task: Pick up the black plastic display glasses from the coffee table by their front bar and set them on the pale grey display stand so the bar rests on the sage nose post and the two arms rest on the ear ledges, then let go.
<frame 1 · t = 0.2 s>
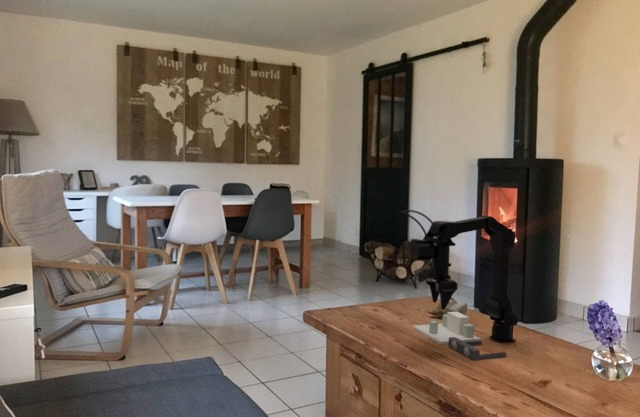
hand: (438, 305, 181), 14 cm above the table, fingers open, 9 cm apart
glasses: (463, 352, 176), on the table
ceramic sculpture: (448, 318, 219), on the table
display stand: (445, 334, 196), on the table
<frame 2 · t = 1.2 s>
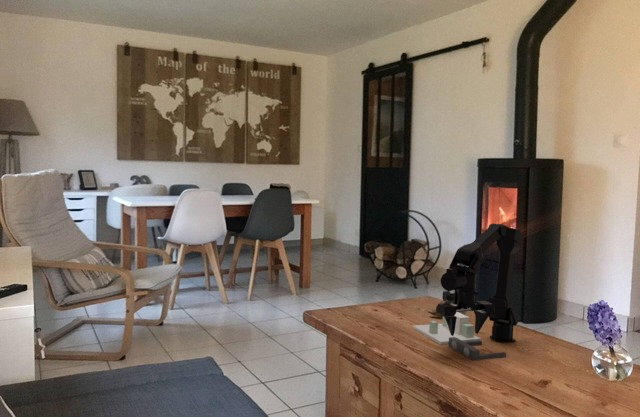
hand: (464, 334, 176), 6 cm above the table, fingers open, 9 cm apart
nothing on the table moved.
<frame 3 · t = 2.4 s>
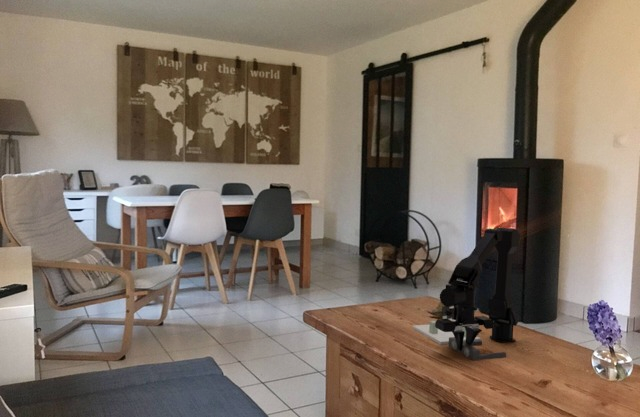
hand: (463, 349, 176), 1 cm above the table, fingers closed on glasses, 2 cm apart
glasses: (463, 352, 176), on the table, touching gripper
everything else where it was.
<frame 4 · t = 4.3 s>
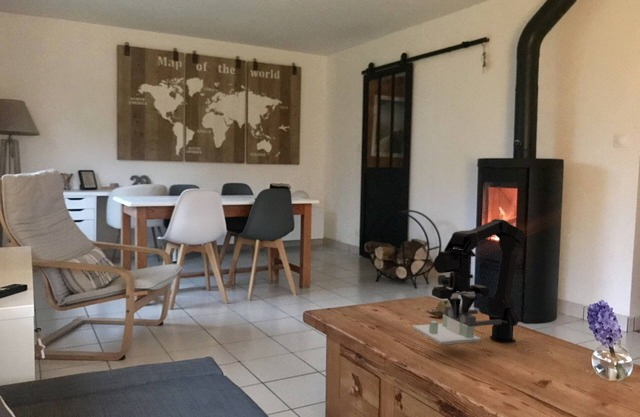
hand: (459, 317, 178), 11 cm above the table, fingers closed on glasses, 2 cm apart
glasses: (459, 320, 178), point 10 cm above the table, touching gripper
everything else where it was.
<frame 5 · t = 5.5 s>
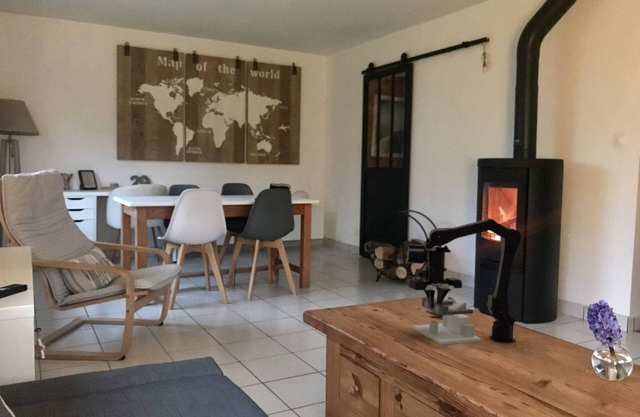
hand: (434, 307, 193), 10 cm above the table, fingers closed on glasses, 2 cm apart
glasses: (434, 310, 193), point 9 cm above the table, touching gripper
everything else where it was.
when the fingers open (7 cm above the table, at t = 6.3 s): glasses stays where it is, resting on display stand.
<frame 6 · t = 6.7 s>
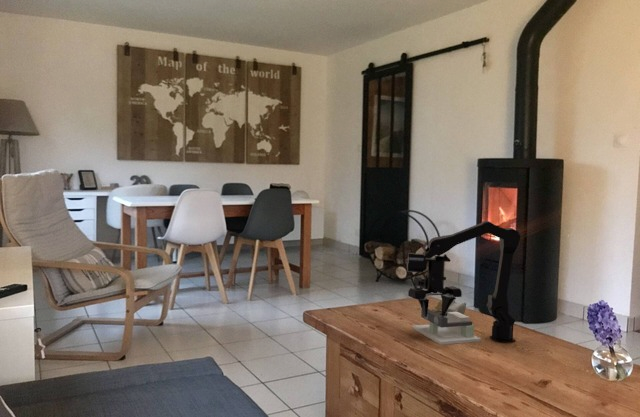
hand: (434, 316, 194), 7 cm above the table, fingers open, 7 cm apart
glasses: (433, 321, 194), point 5 cm above the table, touching display stand
everything else where it was.
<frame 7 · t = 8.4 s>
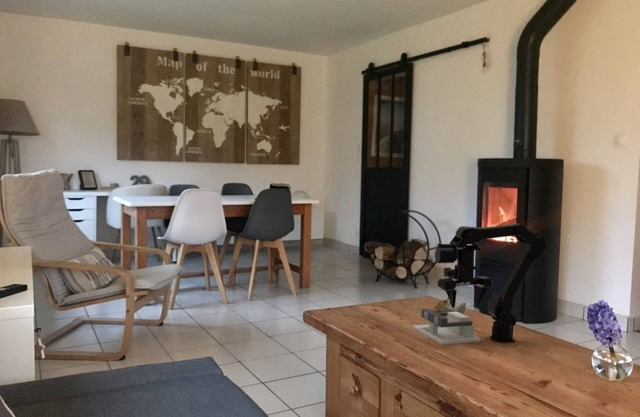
hand: (464, 306, 189), 12 cm above the table, fingers open, 9 cm apart
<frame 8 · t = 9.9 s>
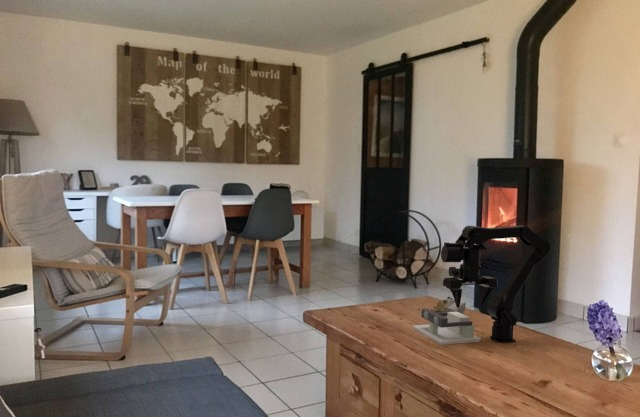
hand: (469, 306, 189), 12 cm above the table, fingers open, 9 cm apart
at the end: glasses 0.0 cm from the target spot on the display stand, point 5.0 cm above the display stand's base; glasses tilted 0°; the gripper is holding nothing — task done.
